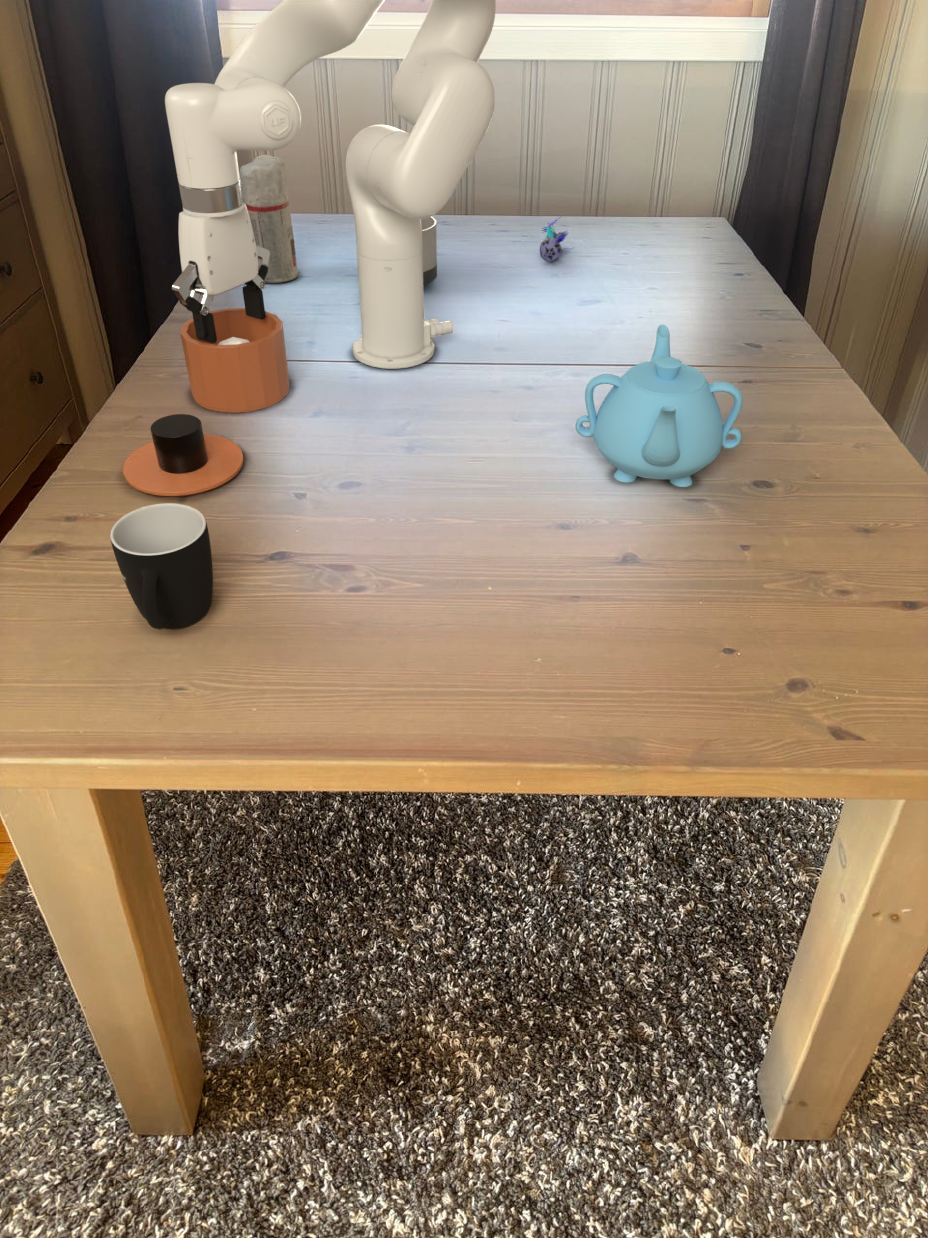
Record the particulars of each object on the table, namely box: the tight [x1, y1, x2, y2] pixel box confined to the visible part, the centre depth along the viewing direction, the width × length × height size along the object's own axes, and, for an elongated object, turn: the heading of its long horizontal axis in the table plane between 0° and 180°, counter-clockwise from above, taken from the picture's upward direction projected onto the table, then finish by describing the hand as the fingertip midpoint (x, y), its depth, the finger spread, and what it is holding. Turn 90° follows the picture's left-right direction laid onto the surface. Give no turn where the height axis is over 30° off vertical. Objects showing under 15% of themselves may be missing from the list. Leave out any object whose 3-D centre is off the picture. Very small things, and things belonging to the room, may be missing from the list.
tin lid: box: [122, 413, 244, 497], centre depth 116 cm, size 15×15×6 cm
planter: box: [420, 216, 438, 287], centre depth 166 cm, size 13×13×10 cm
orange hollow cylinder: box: [179, 307, 290, 414], centre depth 132 cm, size 14×14×10 cm
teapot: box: [575, 324, 744, 488], centre depth 115 cm, size 16×20×14 cm
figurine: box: [539, 216, 573, 264], centre depth 180 cm, size 7×6×12 cm
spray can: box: [239, 154, 299, 284], centre depth 164 cm, size 8×8×20 cm
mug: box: [109, 502, 214, 630], centre depth 92 cm, size 12×9×10 cm
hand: (232, 328), depth 129 cm, fingers open, 9 cm apart
